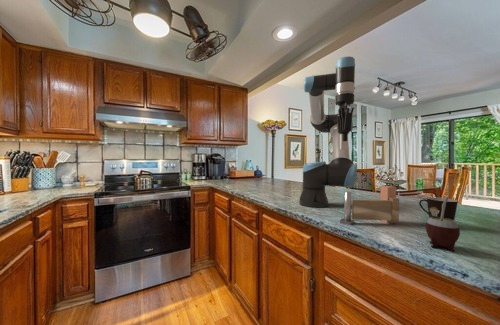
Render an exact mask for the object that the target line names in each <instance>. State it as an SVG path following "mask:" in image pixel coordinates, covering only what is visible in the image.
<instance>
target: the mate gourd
mask: <svg viewBox="0 0 500 325" xmlns="http://www.w3.org/2000/svg"><path fill="white" fill-rule="evenodd" d="M445 198H446V199H445V201H444V202H443V204H442V212H441V217H430V218H428V219H427V220H426V222H425V232H426V235H427V237H428V238H429V240H430V241H429V243H430V248H431V247H432V249H443V250H445V249H446V250H445V251H448V252H450V251H451V253H455V250H454V248H455V245H456V243H457V242H458V240H459V238H460V235H461V231H460V227H459V225H458V223H457V222H456V221H455V219H454V220H451V219H447V218H443V216H444V210H445V208H446V202H447V201H448V199H450V198H449V197H445Z"/></svg>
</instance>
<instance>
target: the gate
mask: <svg viewBox="0 0 500 325" xmlns="http://www.w3.org/2000/svg"><path fill="white" fill-rule="evenodd" d="M351 220H355V221H357V220H359V221H360V220H362V221H364V220H365V221H381V220H389V221H391V222H395V223H399V222H400V198H399V197H396V198H395V197H389V200H380V199H352V198H351Z"/></svg>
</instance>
